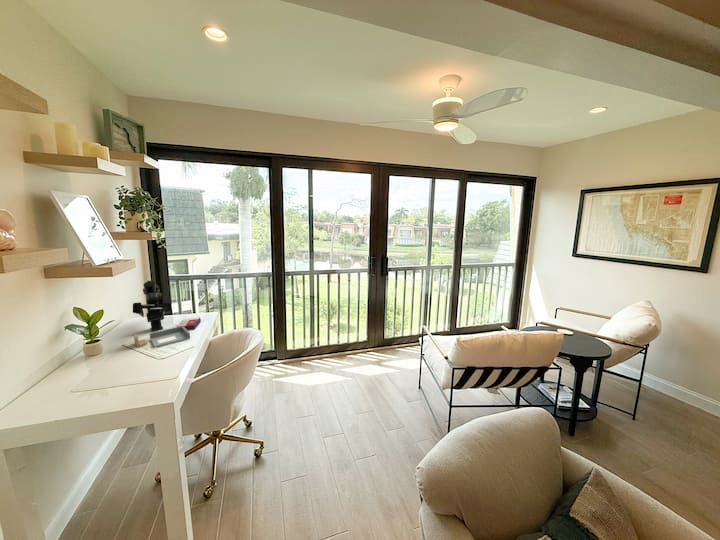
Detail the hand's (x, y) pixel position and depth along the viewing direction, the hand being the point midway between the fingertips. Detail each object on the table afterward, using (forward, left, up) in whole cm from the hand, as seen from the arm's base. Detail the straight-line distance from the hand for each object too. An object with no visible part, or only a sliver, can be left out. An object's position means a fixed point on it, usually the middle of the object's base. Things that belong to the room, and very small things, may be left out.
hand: (153, 315), depth 170 cm
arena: (+1, +7, -16) cm, 18 cm away
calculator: (-15, +21, -17) cm, 31 cm away
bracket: (-3, -7, -17) cm, 18 cm away
